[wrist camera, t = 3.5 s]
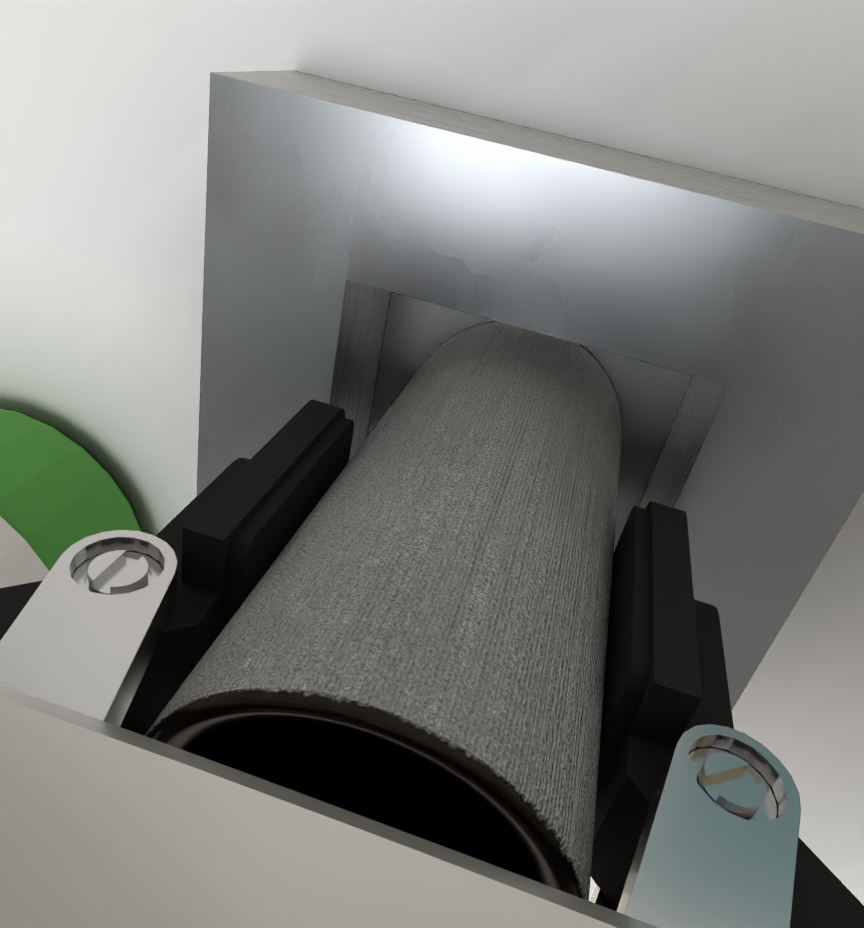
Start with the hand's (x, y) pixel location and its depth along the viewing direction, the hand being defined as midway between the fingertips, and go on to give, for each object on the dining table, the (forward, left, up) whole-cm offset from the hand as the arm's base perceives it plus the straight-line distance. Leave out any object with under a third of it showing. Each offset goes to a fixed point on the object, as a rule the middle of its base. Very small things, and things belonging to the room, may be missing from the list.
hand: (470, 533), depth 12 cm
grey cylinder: (0, 0, -5) cm, 5 cm away
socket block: (0, 0, -4) cm, 4 cm away
